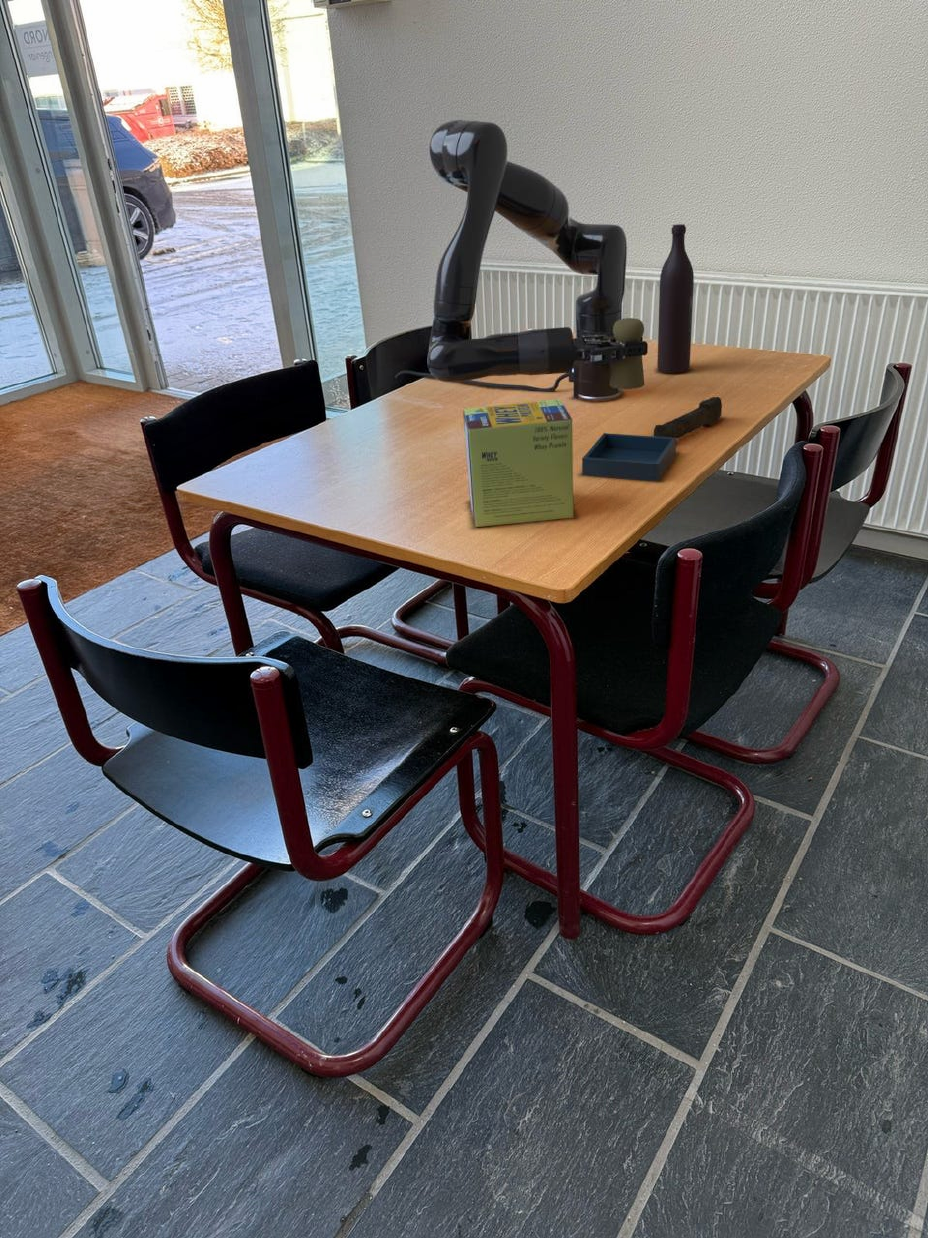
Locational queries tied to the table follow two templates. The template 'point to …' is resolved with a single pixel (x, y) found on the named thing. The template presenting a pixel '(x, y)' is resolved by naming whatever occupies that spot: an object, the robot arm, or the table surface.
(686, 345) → the wine bottle
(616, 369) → the cork
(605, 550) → the table surface
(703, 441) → the table surface
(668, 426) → the rusty railroad spike
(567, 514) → the protein box
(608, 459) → the caddy
